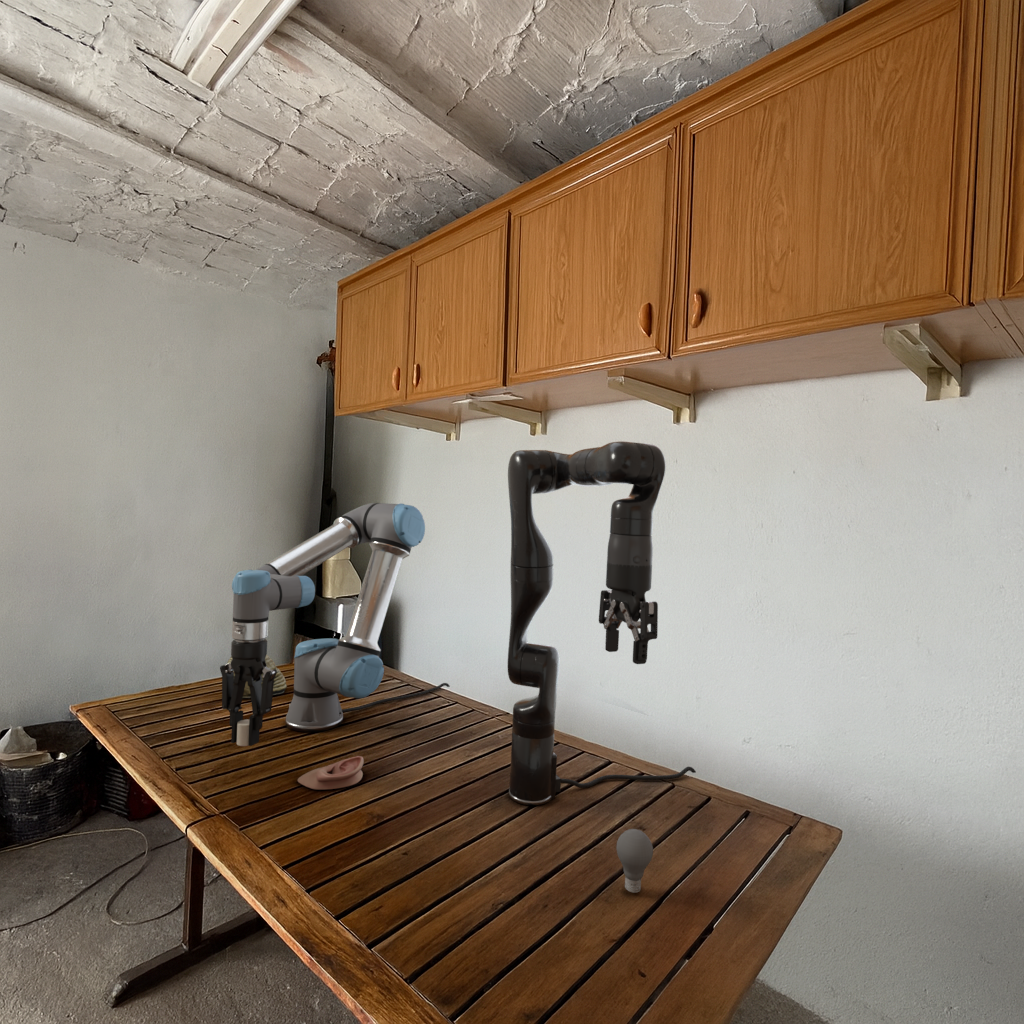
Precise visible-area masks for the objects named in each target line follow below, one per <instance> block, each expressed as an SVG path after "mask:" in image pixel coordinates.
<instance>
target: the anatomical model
mask: <svg viewBox="0 0 1024 1024" xmlns="http://www.w3.org/2000/svg"><path fill="white" fill-rule="evenodd" d="M363 766H364V757H363V756H361V755H356V756H352V757H347V758H346V759H342V760H340V761H336V762H334V763H331V764H328V765H326V766H322V767H318V768H315V769H312V770H310V771H308V772H306V773H304V774H302V775H300V776H299V777H298V778H297V782H298V784H300V785H302V786H304V787H306V788H309V789H312V790H319V791H321V790H333V789H335V790H336V789H342V788H346V787H350V786H353V785H356V784H358V783H359V782H360V781H361V780H362V779H363V775H364V773H363V771H362V768H363Z"/></svg>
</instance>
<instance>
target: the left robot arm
mask: <svg viewBox="0 0 1024 1024" xmlns="http://www.w3.org/2000/svg"><path fill="white" fill-rule="evenodd" d="M425 532H426V523H425V519H424V517H423V514H422V512H421V511H420V510H419V509H418V508H417V507H416V506H414V505H411V504H405V503H388V502H387V503H385V502H371V503H370V502H369V503H365V504H363V505H361V506H358V507H356V508H353V509H352V510H350V511H347V512H346V513H344V514H343V515H341V516H339V517H337V518H336V519H335V520H334V521H333V524H332V525H330V526H329V527H327V528H325V529H324V530H322V531H320V532H318V533H317V534H315V535H313V536H312V537H310V538H308V539H306V540H305V541H302V542H300V543H299V544H298V545H296V546H294V547H292V548H291V549H289V550H287V551H285V552H284V553H282V554H280V555H278V556H277V557H275V558H274V559H272V560H270V561H268V562H266V563H265V564H263V565H261V566H259V567H258V568H256V569H244V570H243V569H242V570H240V571H238V572H237V573H236V574H235V575H234V576H233V579H232V582H231V590H232V593H233V599H232V600H233V601H232V624H231V626H232V627H231V629H232V630H231V638H232V639H233V640H232V641H231V644H230V645H231V646H230V657H231V656H232V657H233V658H232V661H231V663H228V664H227V663H225V664H223V665H220V666H219V670H220V674H221V708H222V709H223V710H226V711H228V712H229V722H228V723H229V727H231V734H230V735H231V736H230V743H231V744H235V743H237V723H238V722H239V721H241V720H244V710H241V709H242V708H243V706H242V701H243V699H244V698H243V693H244V689H245V684H246V682H248V686H249V687H250V694H251V698H250V702H251V710H252V711H251V712H252V714H251V715H250V716H249V741H248V746H249V747H252V746H254V745H256V744H258V743H259V742H260V731H261V730H262V729H263V724H264V723H263V721H264V715H267V714H268V713H270V712H271V711H272V707H273V696H274V695H273V685H274V678H275V676H276V674H277V670H276V669H273V670H271V669H270V668H268V667H267V664H266V662H265V657H266V655H268V640H267V638H268V637H269V616H270V612H271V611H279V610H289V609H295V608H296V609H300V608H302V607H306V606H309V605H311V604H312V602H313V601H314V599H315V595H316V586H315V583H314V581H313V580H312V579H311V578H310V577H309V576H307V575H305V574H307V573H308V572H310V571H311V570H313V569H315V568H316V567H318V566H320V565H321V564H323V563H324V562H326V561H328V560H329V559H331V558H333V557H335V556H336V555H337V554H339V553H340V552H343V551H344V550H345V549H354V548H355V547H357V546H358V545H361V544H366V543H369V544H368V545H369V546H370V549H371V551H372V552H371V555H370V557H369V562H368V565H367V568H366V570H365V574H364V577H363V580H362V582H361V583H362V584H361V587H360V590H359V593H358V597H357V600H356V603H355V606H354V609H353V612H352V616H351V618H350V622H349V625H348V628H347V632H346V634H345V635H344V636H342V637H341V638H339V639H338V638H335V637H334V638H331V637H329V638H315V639H308V640H304V641H301V642H299V643H298V644H297V645H296V646H295V652H294V656H293V658H294V661H293V662H294V670H293V671H294V672H293V695H292V696H293V697H292V699H291V702H290V703H289V705H288V711H287V713H286V715H285V726H286V728H287V729H289V730H291V731H294V732H295V731H296V732H301V733H316V732H325V731H329V730H332V729H335V728H337V727H339V726H340V725H342V723H343V722H344V714H343V713H348V712H356V711H360V710H364V709H368V708H370V707H373V706H376V705H378V704H383V703H388V702H393V701H399V700H400V701H401V700H403V699H409V698H413V697H417V696H423V695H425V694H428V693H431V692H434V691H437V690H439V689H441V688H442V687H446V688H450V687H451V685H450V684H449V683H447V682H443V683H441V684H439V685H437V686H435V687H432V688H429V689H426V690H423V691H419V692H415V693H411V694H405V695H400V696H395V697H389V698H388V697H387V698H384V699H379V700H375V701H372V702H370V703H367V704H364V705H361V706H357V707H348V708H342V706H341V702H340V699H339V695H340V696H341V695H342V696H343V697H346V698H353V699H365V698H367V697H369V695H371V694H372V693H374V692H375V691H376V690H377V689H378V687H379V686H380V684H381V682H382V680H383V677H384V673H385V667H384V663H383V660H382V659H381V658H380V655H381V651H382V649H381V648H380V646H379V643H378V642H379V638H380V635H381V632H382V629H383V626H384V622H385V620H386V619H385V618H386V616H387V612H388V609H389V606H390V603H391V602H390V601H391V599H392V596H393V592H394V588H395V585H396V581H397V580H398V576H399V572H400V570H401V569H400V568H401V565H402V563H403V560H404V559H406V558H408V557H409V556H410V554H411V550H412V549H413V548H414V547H416V546H419V544H420V543H421V542H422V541H423V540H424V537H425V534H426V533H425ZM233 671H234V672H233ZM234 673H235V676H234ZM262 673H264V674H263V676H262ZM262 677H263V678H264V679H263V683H262ZM261 683H262V687H261ZM338 694H339V695H338ZM248 746H247V747H248Z"/></svg>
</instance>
